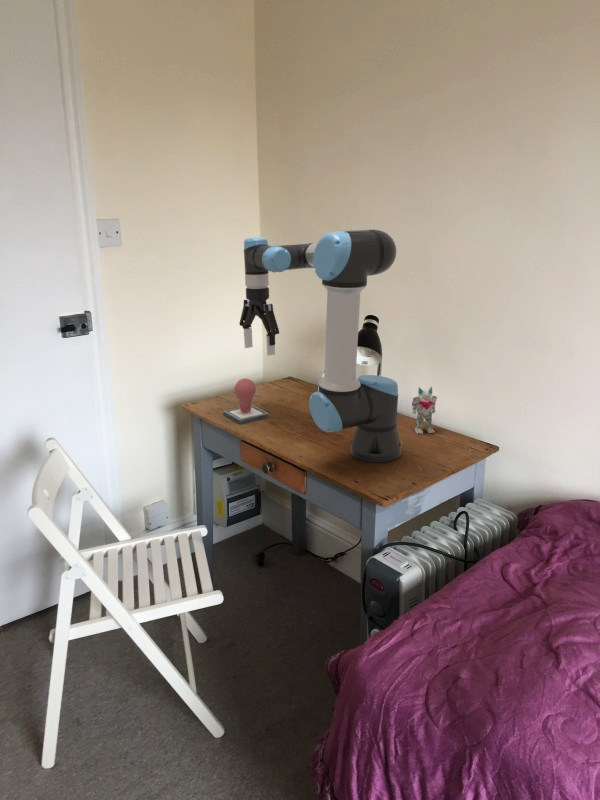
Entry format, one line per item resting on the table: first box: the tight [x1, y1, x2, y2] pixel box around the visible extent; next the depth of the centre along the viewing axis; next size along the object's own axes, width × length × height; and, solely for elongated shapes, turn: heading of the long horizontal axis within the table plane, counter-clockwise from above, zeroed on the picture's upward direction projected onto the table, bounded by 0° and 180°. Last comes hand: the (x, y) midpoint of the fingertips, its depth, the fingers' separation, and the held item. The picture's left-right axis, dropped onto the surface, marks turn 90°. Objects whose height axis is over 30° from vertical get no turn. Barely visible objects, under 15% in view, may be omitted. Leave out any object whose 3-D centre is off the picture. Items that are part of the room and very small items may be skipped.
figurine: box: [411, 386, 438, 435], centre depth 208 cm, size 8×8×15 cm
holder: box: [222, 403, 270, 425], centre depth 224 cm, size 12×12×2 cm
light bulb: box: [234, 378, 257, 412], centre depth 222 cm, size 7×7×12 cm
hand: (259, 351), depth 216 cm, fingers open, 13 cm apart
